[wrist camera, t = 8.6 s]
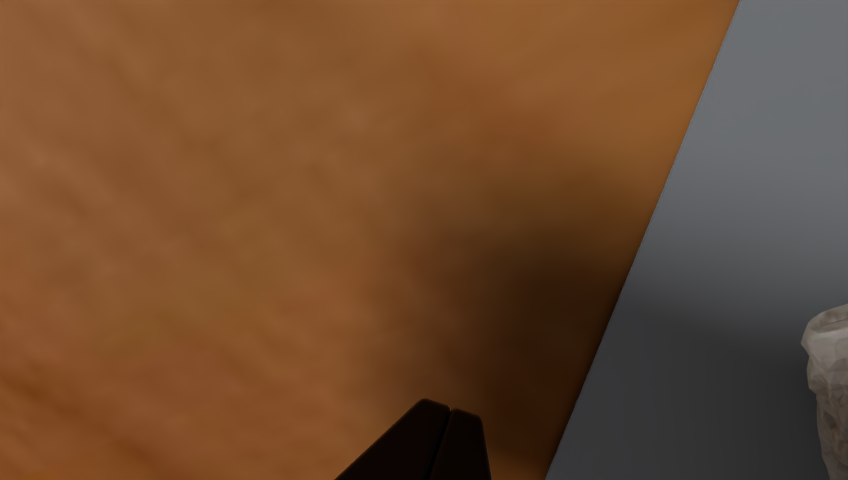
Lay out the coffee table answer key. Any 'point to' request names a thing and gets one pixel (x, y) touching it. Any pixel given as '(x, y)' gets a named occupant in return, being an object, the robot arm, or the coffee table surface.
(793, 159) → the mat
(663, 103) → the coffee table surface
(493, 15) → the coffee table surface
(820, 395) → the washcloth
